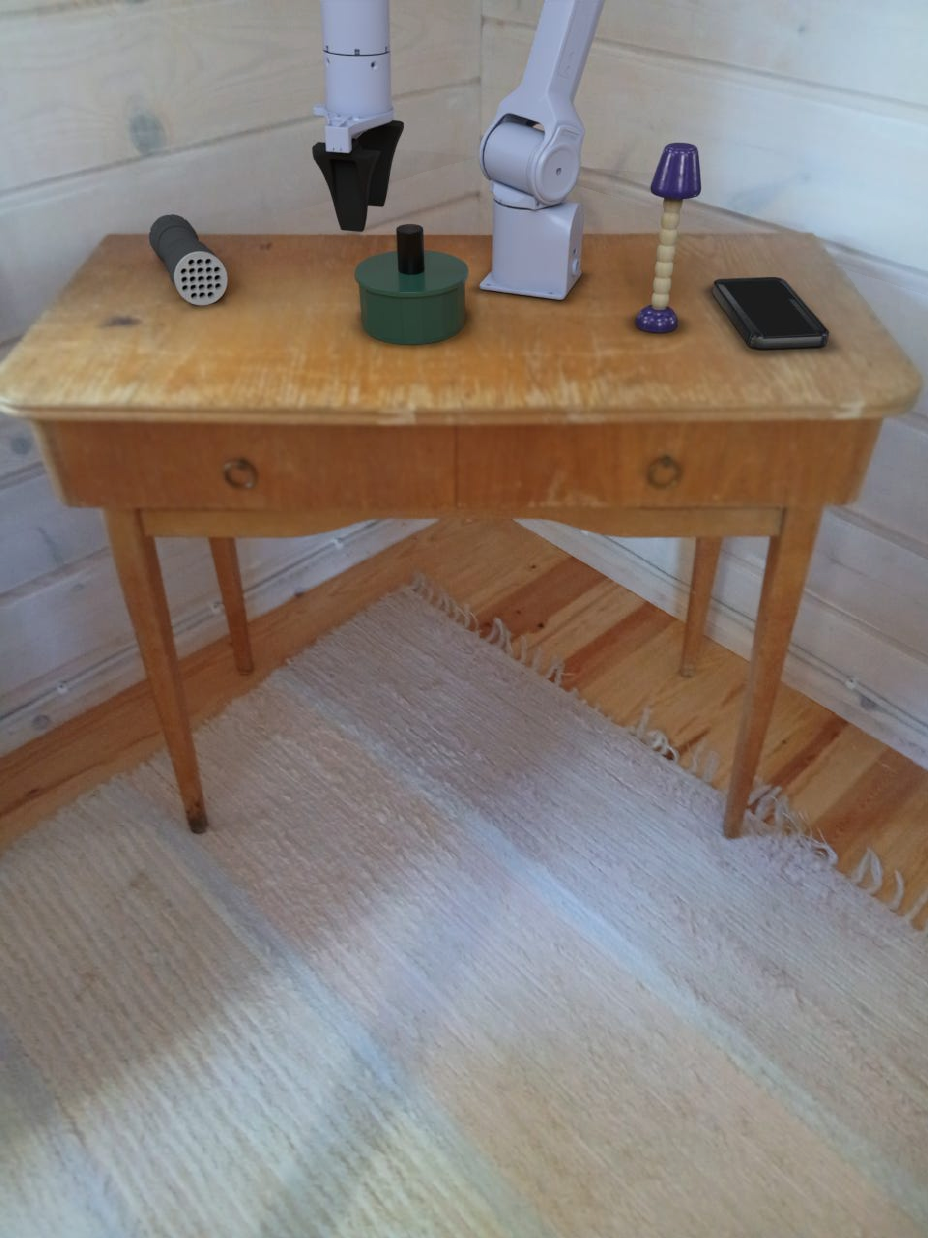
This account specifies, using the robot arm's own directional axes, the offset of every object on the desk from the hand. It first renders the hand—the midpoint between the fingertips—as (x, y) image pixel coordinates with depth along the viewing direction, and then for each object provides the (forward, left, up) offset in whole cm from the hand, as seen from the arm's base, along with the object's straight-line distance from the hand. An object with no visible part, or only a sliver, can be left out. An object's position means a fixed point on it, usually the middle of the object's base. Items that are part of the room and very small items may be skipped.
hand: (363, 217), depth 89 cm
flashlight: (+24, -4, -11) cm, 27 cm away
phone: (-37, -16, -11) cm, 42 cm away
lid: (-4, -2, -6) cm, 7 cm away
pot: (-4, -2, -11) cm, 12 cm away
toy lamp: (-27, -10, -11) cm, 31 cm away
